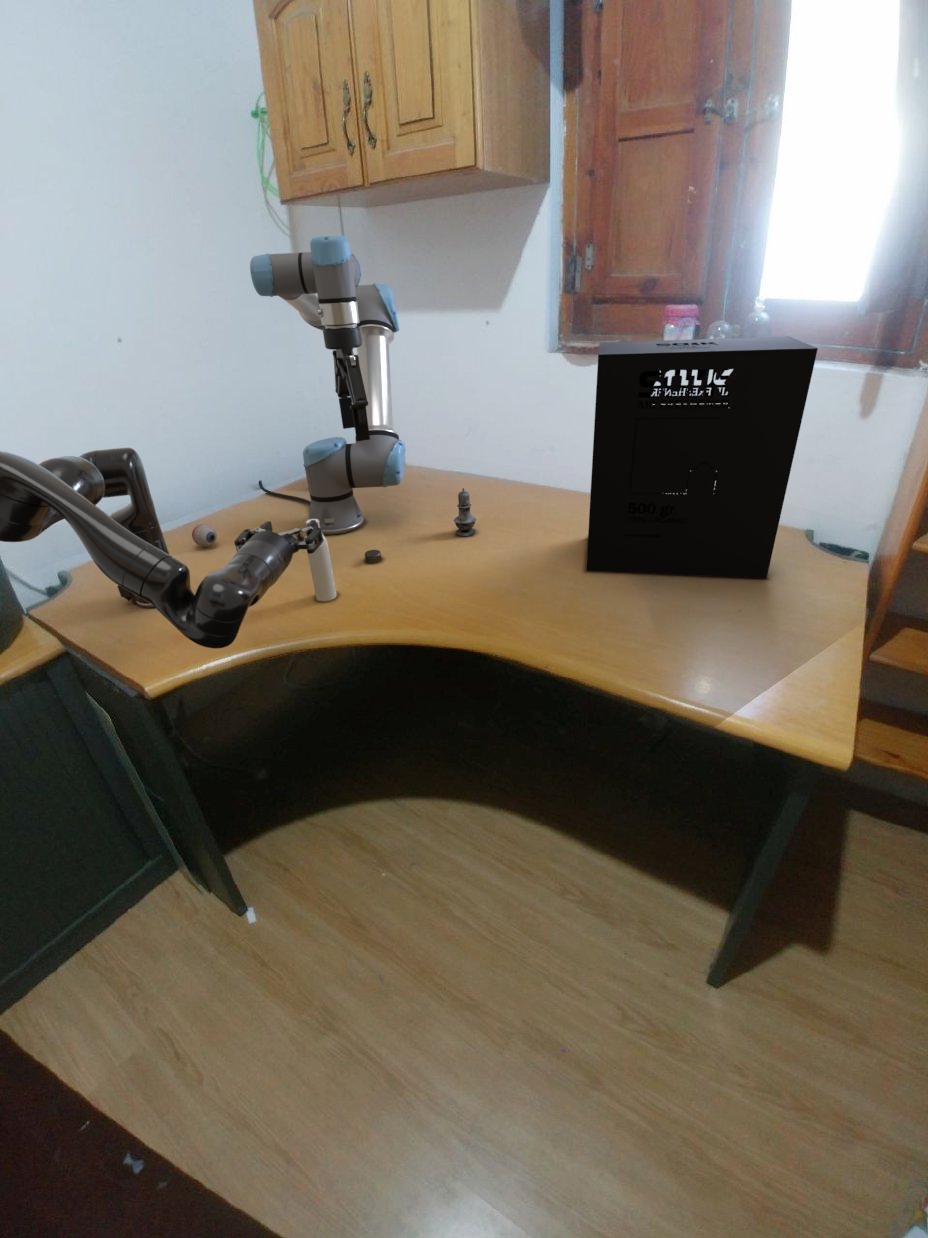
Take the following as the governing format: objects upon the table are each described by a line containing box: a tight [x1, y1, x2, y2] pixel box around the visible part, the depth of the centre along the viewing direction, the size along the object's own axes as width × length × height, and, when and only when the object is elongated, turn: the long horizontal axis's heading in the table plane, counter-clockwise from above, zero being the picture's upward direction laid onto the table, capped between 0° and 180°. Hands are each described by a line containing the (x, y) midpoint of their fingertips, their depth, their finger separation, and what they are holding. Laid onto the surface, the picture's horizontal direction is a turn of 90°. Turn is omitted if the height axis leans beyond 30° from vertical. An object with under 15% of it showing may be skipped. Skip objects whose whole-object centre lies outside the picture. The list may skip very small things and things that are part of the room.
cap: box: [364, 549, 382, 564], centre depth 147 cm, size 4×4×2 cm
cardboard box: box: [585, 335, 819, 580], centre depth 129 cm, size 38×20×45 cm, turn 78°
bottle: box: [305, 519, 338, 602], centre depth 127 cm, size 4×4×18 cm
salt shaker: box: [453, 487, 477, 537], centre depth 157 cm, size 6×6×12 cm
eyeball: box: [191, 523, 218, 548], centre depth 159 cm, size 6×6×6 cm
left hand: (292, 525), depth 112 cm, fingers open, 8 cm apart
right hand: (356, 433), depth 132 cm, fingers open, 13 cm apart
